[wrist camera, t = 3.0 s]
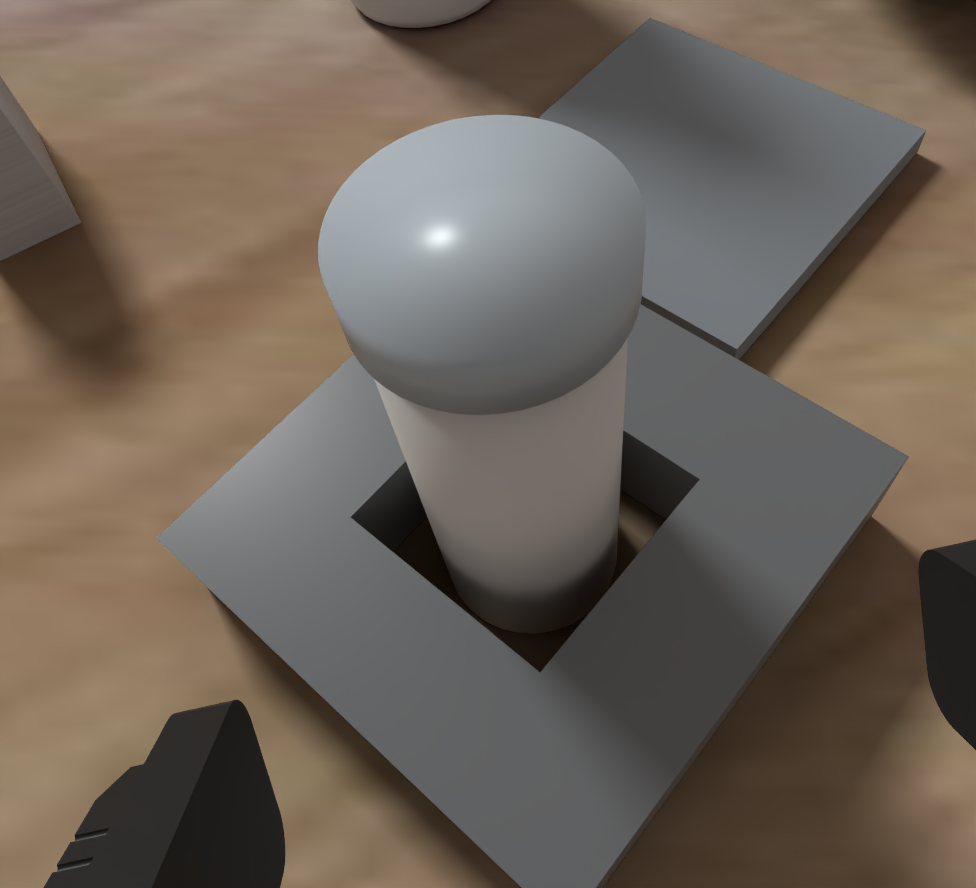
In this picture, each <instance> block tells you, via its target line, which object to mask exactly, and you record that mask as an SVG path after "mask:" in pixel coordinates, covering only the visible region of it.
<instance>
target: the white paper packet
mask: <svg viewBox="0 0 976 888" xmlns="http://www.w3.org/2000/svg"><path fill="white" fill-rule="evenodd" d="M80 223H81V221H80V219H79V217H78V215H77V213H76V211H75V209H74V207H73V205H72V203H71V200H70V198H69V196H68V194H67V192H66V190H65V188H64V186H63V184H62V181H61V179H60V177H59V175H58V173H57V171H56V169H55V167H54V165H53V163H52V160H51V158H50V156H49V154H48V152H47V150H46V148H45V146H44V144H43V141H42V139H41V137H40V135H39V133H38V131H37V129H36V128H35V127H34V125H33V124H32V122H31V121H30V119H29V118H28V116H27V115H26V113H25V112H24V110H23V109H22V107H21V106H20V104H19V103H18V102H17V100H16V99H15V97H14V96H13V94H12V93H11V91H10V90H9V88H8V87H7V85H6V84H5V82H4V81H3V80H2V78H1V77H0V261H1V260H4V259H6V258H8V257H10V256H12V255H14V254H16V253H18V252H21V251H23V250H25V249H27V248H29V247H31V246H33V245H35V244H38V243H40V242H42V241H44V240H46V239H48V238H50V237H52V236H55V235H57V234H59V233H61V232H63V231H65V230H67V229H69V228H72V227H74V226H76V225H78V224H80Z"/></svg>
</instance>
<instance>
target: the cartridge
mask: <svg viewBox="0 0 976 888" xmlns="http://www.w3.org/2000/svg"><path fill="white" fill-rule="evenodd" d="M645 239H646V215H645V207H644V203H643V200H642V197H641V194H640V191H639V189H638V187H637V185H636V183H635V181H634V179H633V177H632V176H631V174H630V173H629V171H628V170H627V169H626V167H625V166H624V165H623V163H622V162H621V161H620V160H619V159H618V158H617V157H616V156H615V155H614V154H613V153H612V152H610V151H609V150H608V149H606V148H605V147H604V146H602V145H601V144H600V143H598V142H597V141H595V140H594V139H592V138H590V137H588V136H587V135H585V134H583V133H581V132H579V131H576V130H574V129H572V128H569V127H567V126H564V125H561V124H558V123H554V122H551V121H548V120H543V119H537V118H532V117H526V116H515V115H484V116H473V117H466V118H460V119H455V120H450V121H446V122H442V123H439V124H435V125H431V126H429V127H426V128H423V129H421V130H418V131H415V132H413V133H411V134H409V135H406V136H404V137H402V138H400V139H398V140H396V141H394V142H393V143H391V144H389V145H388V146H386V147H384V148H383V149H381V150H380V151H378V152H377V153H376V154H374V155H373V156H372V157H370V158H369V159H368V160H366V161H365V162H364V163H363V164H362V165H361V166H360V167H359V168H358V169H356V170H355V171H354V172H353V173H352V174H351V176H350V177H349V178H348V179H347V180H346V181H345V183H344V184H343V185H342V186H341V187H340V189H339V191H338V192H337V194H336V195H335V197H334V198H333V200H332V201H331V204H330V206H329V208H328V210H327V212H326V214H325V217H324V220H323V223H322V227H321V230H320V236H319V244H318V258H319V267H320V271H321V276H322V280H323V282H324V285H325V287H326V289H327V292H328V294H329V297H330V299H331V302H332V304H333V307H334V309H335V312H336V314H337V317H338V319H339V322H340V324H341V326H342V329H343V331H344V334H345V336H346V339H347V341H348V343H349V346H350V348H351V350H352V352H353V353H354V355H355V357H356V358H357V360H358V361H359V363H360V364H361V365H362V366H363V368H364V369H365V370H366V371H367V372H368V373H369V374H370V375H371V376H372V377H373V378H374V380H375V382H376V385H377V388H378V390H379V393H380V395H381V398H382V401H383V403H384V406H385V408H386V411H387V414H388V416H389V419H390V421H391V424H392V426H393V429H394V432H395V434H396V437H397V439H398V442H399V445H400V447H401V450H402V452H403V455H404V458H405V460H406V463H407V465H408V468H409V471H410V473H411V476H412V478H413V481H414V483H415V486H416V489H417V491H418V494H419V496H420V499H421V502H422V504H423V507H424V509H425V512H426V515H427V517H428V520H429V522H430V525H431V528H432V530H433V533H434V535H435V538H436V540H437V543H438V546H439V548H440V551H441V553H442V556H443V559H444V561H445V564H446V566H447V569H448V572H449V574H450V577H451V579H452V582H453V584H454V586H455V589H456V591H457V592H458V594H459V596H460V597H461V599H462V600H463V602H464V603H465V604H466V605H467V607H468V608H469V609H471V610H472V611H473V612H474V613H475V614H476V615H477V616H479V617H480V618H481V619H483V620H484V621H486V622H488V623H490V624H492V625H494V626H496V627H498V628H501V629H504V630H507V631H512V632H516V633H526V634H533V633H544V632H550V631H554V630H557V629H561V628H564V627H566V626H568V625H570V624H573V623H574V622H576V621H578V620H579V619H581V618H582V617H584V616H585V615H586V614H587V613H589V612H590V611H591V610H592V609H593V608H594V607H595V606H596V604H597V603H598V602H599V601H600V599H601V598H602V597H603V596H604V595H605V593H606V591H607V589H608V588H609V586H610V584H611V581H612V578H613V575H614V572H615V567H616V560H617V541H618V522H619V502H620V483H621V463H622V443H623V424H624V404H625V385H626V365H627V346H628V336H629V334H630V333H631V331H632V328H633V326H634V323H635V321H636V319H637V316H638V312H639V308H640V303H641V297H642V283H643V268H644V254H645Z"/></svg>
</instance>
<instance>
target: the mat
mask: <svg viewBox="0 0 976 888" xmlns="http://www.w3.org/2000/svg"><path fill="white" fill-rule="evenodd" d="M538 119H543V120H548V121H551V122H554V123H558V124H561V125H564V126H567V127H569V128H572V129H574V130H576V131H579V132H581V133H583V134H585V135H587V136H588V137H590V138H592V139H594V140H595V141H597V142H598V143H600V144H601V145H602V146H604V147H605V148H606V149H608V150H609V151H610V152H612V153H613V154H614V155H615V156H616V157H617V158H618V159H619V160H620V161H621V162H622V163H623V165H624V166H625V167H626V169H627V170H628V171H629V173H630V174H631V176H632V177H633V179H634V181H635V183H636V185H637V187H638V189H639V191H640V194H641V197H642V200H643V203H644V207H645V215H646V239H645V254H644V268H643V283H642V297H641V303H640V304H641V305H643V306H645V307H647V308H648V309H650V310H652V311H654V312H655V313H657V314H659V315H661V316H662V317H664V318H666V319H668V320H669V321H671V322H673V323H675V324H676V325H678V326H680V327H682V328H684V329H685V330H687V331H689V332H691V333H692V334H694V335H696V336H698V337H699V338H701V339H703V340H705V341H706V342H708V343H710V344H712V345H713V346H715V347H717V348H719V349H720V350H722V351H724V352H726V353H727V354H729V355H731V356H733V357H735V358H736V359H738V360H740V358H741V357H742V356H743V355H744V354H745V353H746V351H747V350H748V349H749V348H750V347H751V346H752V344H753V343H754V342H755V341H756V340H757V339H758V337H759V336H760V335H761V334H762V333H763V332H764V330H765V329H766V328H767V327H768V326H769V325H770V323H771V322H772V321H773V320H774V319H775V318H776V316H777V315H778V314H779V313H780V312H781V311H782V309H783V308H784V307H785V306H786V305H787V304H788V302H789V301H790V300H791V299H792V298H793V297H794V295H795V294H796V293H797V292H798V291H799V290H800V288H801V287H802V286H803V285H804V284H805V283H806V281H807V280H808V279H809V278H810V277H811V276H812V274H813V273H814V272H815V271H816V270H817V269H818V267H819V266H820V265H821V264H822V263H823V262H824V261H825V259H826V258H827V257H828V256H829V255H830V254H831V252H832V251H833V250H834V249H835V248H836V247H837V245H838V244H839V243H840V242H841V241H842V240H843V238H844V237H845V236H846V235H847V234H848V233H849V231H850V230H851V229H852V228H853V227H854V226H855V224H856V223H857V222H858V221H859V220H860V219H861V217H862V216H863V215H864V214H865V213H866V212H867V210H868V209H869V208H870V207H871V206H872V205H873V203H874V202H875V201H876V200H877V199H878V198H879V196H880V195H881V194H882V193H883V192H884V191H885V189H886V188H887V187H888V186H889V185H890V184H891V182H892V181H893V180H894V179H895V178H896V177H897V175H898V174H899V173H900V172H901V171H902V170H903V168H904V167H905V166H906V165H907V164H908V163H909V161H910V160H911V159H912V158H913V157H914V156H915V154H916V153H917V152H918V150H919V147H920V145H921V142H922V140H923V137H924V135H925V132H926V130H924V129H922V128H919V127H917V126H914V125H912V124H909V123H907V122H905V121H902V120H900V119H897V118H895V117H892V116H890V115H887V114H885V113H882V112H880V111H878V110H875V109H873V108H870V107H868V106H865V105H863V104H860V103H858V102H855V101H853V100H851V99H848V98H846V97H843V96H841V95H838V94H836V93H833V92H831V91H828V90H826V89H824V88H821V87H819V86H816V85H814V84H811V83H809V82H806V81H804V80H801V79H799V78H797V77H794V76H792V75H789V74H787V73H784V72H782V71H779V70H777V69H774V68H772V67H769V66H767V65H765V64H762V63H760V62H757V61H755V60H752V59H750V58H747V57H745V56H742V55H740V54H738V53H735V52H733V51H730V50H728V49H725V48H723V47H720V46H718V45H715V44H713V43H711V42H708V41H706V40H703V39H701V38H698V37H696V36H693V35H691V34H688V33H686V32H684V31H681V30H679V29H676V28H674V27H671V26H669V25H666V24H664V23H661V22H659V21H657V20H654V19H652V18H649V19H648V20H647V21H646V22H645V23H644V24H643V25H642V26H640V27H639V28H638V29H637V30H636V31H635V32H634V33H633V34H631V35H630V36H629V37H628V38H627V39H626V40H625V41H624V42H623V43H621V44H620V45H619V46H618V47H617V48H616V49H615V50H614V51H612V52H611V53H610V54H609V55H608V56H607V57H606V58H605V59H604V60H602V61H601V62H600V63H599V64H598V65H597V66H596V67H595V68H593V69H592V70H591V71H590V72H589V73H588V74H587V75H586V76H584V77H583V78H582V79H581V80H580V81H579V82H578V83H577V84H576V85H574V86H573V87H572V88H571V89H570V90H569V91H568V92H567V93H565V94H564V95H563V96H562V97H561V98H560V99H559V100H558V101H557V102H555V103H554V104H553V105H552V106H551V107H550V108H549V109H548V110H546V111H545V112H544V113H543V114H542V115H541V116H540V117H539V118H538Z"/></svg>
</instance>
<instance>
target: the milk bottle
mask: <svg viewBox="0 0 976 888" xmlns="http://www.w3.org/2000/svg"><path fill="white" fill-rule="evenodd" d="M351 1H352V2H353V3H354V5H355V6H356V7H357V8H358V9H359V10H360V11H361V12H362V13H363V14H364V15H365V16H367V17H369V18H371V19H373V20H374V21H376V22H380V23H383V24H386V25H389V26H396V27H401V28H422V27H432V26H437V25H441V24H446V23H450V22H453V21H456V20H458V19H461V18H464V17H466V16H468V15H470V14H472V13H474V12H476V11H478V10H479V9H480V8H482V7H483V6H484V5H486V4H487V3H489V2H490V1H491V0H351Z"/></svg>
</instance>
